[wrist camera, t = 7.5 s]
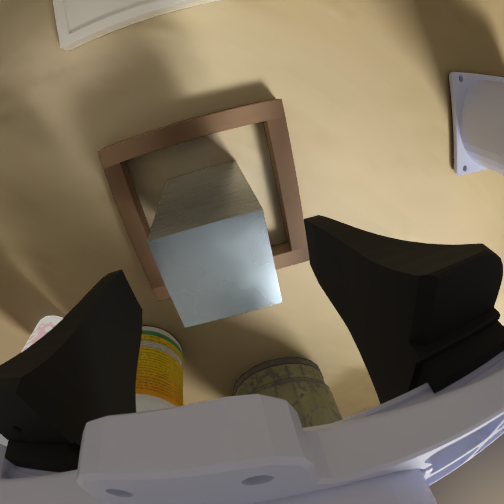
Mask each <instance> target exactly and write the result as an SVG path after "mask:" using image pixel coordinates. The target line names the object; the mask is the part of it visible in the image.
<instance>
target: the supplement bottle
mask: <svg viewBox="0 0 504 504" xmlns="http://www.w3.org/2000/svg"><path fill="white" fill-rule="evenodd" d="M135 388H136V412H144V411H151V410H158V409H165V408H171V407H177V406H183V353H182V348H181V346H180V345H179V343H178V342H177V340H176V339H175V338H174V337H173V336H172V335H170V334H169V333H167V332H166V331H164V330H161V329H159V328H155V327H149V326H142V336H141V343H140V351H139V358H138V366H137V374H136V387H135Z"/></svg>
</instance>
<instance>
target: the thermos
mask: <svg viewBox="0 0 504 504" xmlns="http://www.w3.org/2000/svg"><path fill="white" fill-rule="evenodd" d="M250 394H260V395H265V396H270V397H275V398H279V399H283V400H286V401H287V402H288V403H289V404H290V405H291V406H292V407H293V408H294V409H295V410H296V411H297V413H298V416H299V419H300V422H301V425H302V428H306V427H313V426H319V425H325V424H330V423H334V422H336V421H339V420H342V416H341V414H340V411H339V409H338V407H337V404H336V402H335V400H334V397H333V395H332V393H331V391H330V389H329V387H328V386H327V385H326V384H325V382H324V380H323V376H322V373H321V371H320V369H319V367H318V366H317V365H316V364H314V363H313V362H311V361H310V360H305V359H301V358H281V359H276V360H272V361H267V362H265V363H263V364H260V365H258V366H255V367H253V368H252V369H250V370H249V371H247V372H246V373H245V374H243V375H242V376H241V377H240V379H239V380H238V381H237V382H236V383H235V387H234V390H233V396H239V395H250Z"/></svg>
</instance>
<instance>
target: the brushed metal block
mask: <svg viewBox="0 0 504 504" xmlns="http://www.w3.org/2000/svg"><path fill="white" fill-rule="evenodd" d="M147 243H148V245H149V248H150V250H151V253H152V255H153V258H154V260H155V262H156V265H157V267H158V269H159V272H160V274H161V276H162V279H163V281H164V283H165V285H166V288H167V290H168V292H169V294H170V297H171V299H172V301H173V303H174V305H175V308H176V310H177V312H178V314H179V316H180V318H181V320H182V322H183V324H184V327H185V328H186V327H190V326H195V325H199V324H203V323H207V322H211V321H215V320H219V319H223V318H226V317H230V316H234V315H238V314H242V313H245V312H249V311H253V310H257V309H260V308H264V307H267V306H271V305H275V304H278V303H282V298H281V294H280V289H279V284H278V279H277V274H276V269H275V265H274V260H273V255H272V250H271V246H270V241H269V236H268V231H267V227H266V222H265V218H264V213H263V209H262V207H261V205H260V204H259V202H258V200H257V198H256V196H255V194H254V193H253V191H252V189H251V187H250V185H249V184H248V182H247V180H246V178H245V176H244V175H243V173H242V171H241V169H240V168H239V166H238V164H237V162H236V160H235V161H231V162H228V163H224V164H220V165H216V166H213V167H209V168H205V169H202V170H198V171H195V172H191V173H188V174H184V175H181V176H178V177H174V178H171V179H168V180H167V183H166V186H165V188H164V191H163V194H162V197H161V200H160V203H159V206H158V209H157V212H156V215H155V218H154V221H153V224H152V227H151V230H150V234H149V237H148V240H147Z"/></svg>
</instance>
